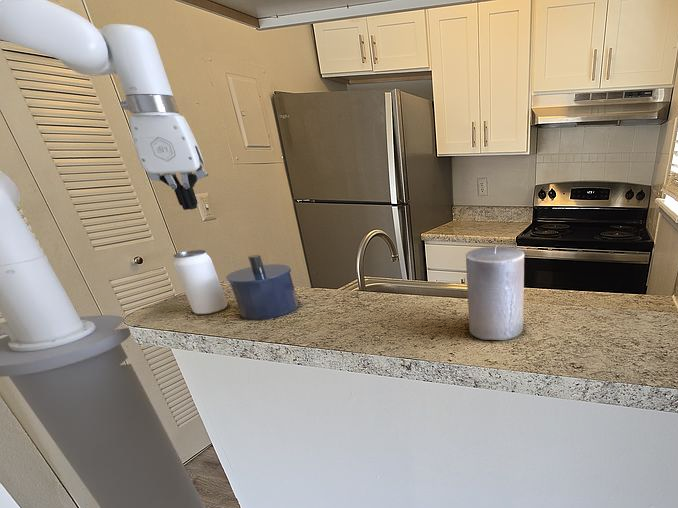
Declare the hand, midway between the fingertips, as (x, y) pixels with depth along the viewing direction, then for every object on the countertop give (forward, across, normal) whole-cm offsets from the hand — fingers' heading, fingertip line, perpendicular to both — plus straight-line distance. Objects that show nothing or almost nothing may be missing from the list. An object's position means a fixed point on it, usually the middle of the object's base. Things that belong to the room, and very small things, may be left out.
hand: (190, 208), depth 86 cm
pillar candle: (+19, +57, -39) cm, 72 cm away
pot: (+19, +14, -15) cm, 28 cm away
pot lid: (+12, +14, -15) cm, 24 cm away
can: (+19, +1, -11) cm, 22 cm away
